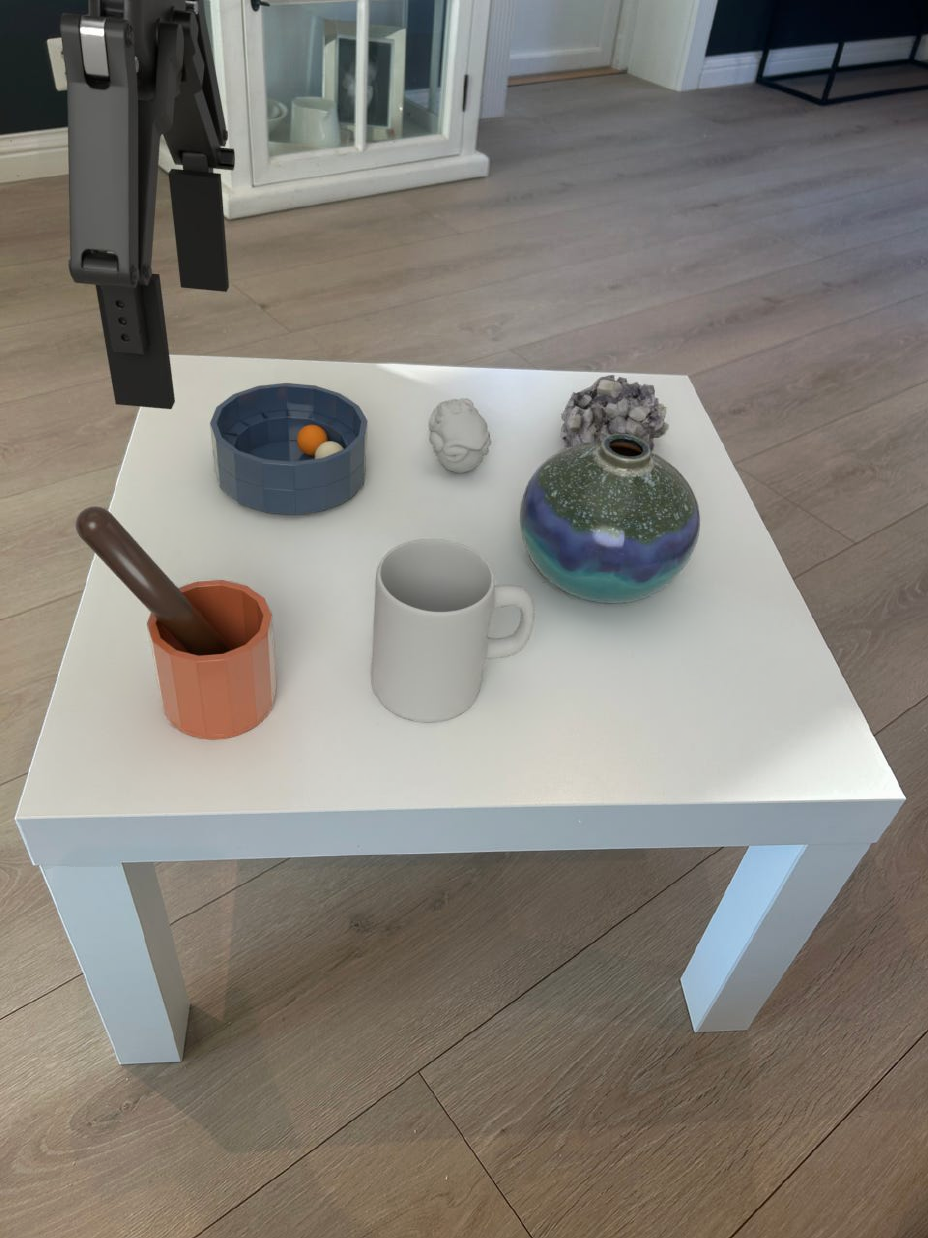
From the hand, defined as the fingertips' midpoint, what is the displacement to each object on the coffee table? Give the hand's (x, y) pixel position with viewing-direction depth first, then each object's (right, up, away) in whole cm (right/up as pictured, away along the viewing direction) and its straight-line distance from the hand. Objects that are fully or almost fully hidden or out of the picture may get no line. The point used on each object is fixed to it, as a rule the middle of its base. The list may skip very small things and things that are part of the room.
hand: (178, 340), depth 53 cm
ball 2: (+3, 0, +40) cm, 40 cm away
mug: (+14, -20, +23) cm, 34 cm away
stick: (0, -21, +19) cm, 28 cm away
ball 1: (+1, +2, +42) cm, 42 cm away
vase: (+28, -11, +35) cm, 46 cm away
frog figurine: (+15, 0, +45) cm, 47 cm away
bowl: (-1, -1, +41) cm, 41 cm away
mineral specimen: (+31, +3, +50) cm, 59 cm away
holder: (-3, -21, +19) cm, 29 cm away
